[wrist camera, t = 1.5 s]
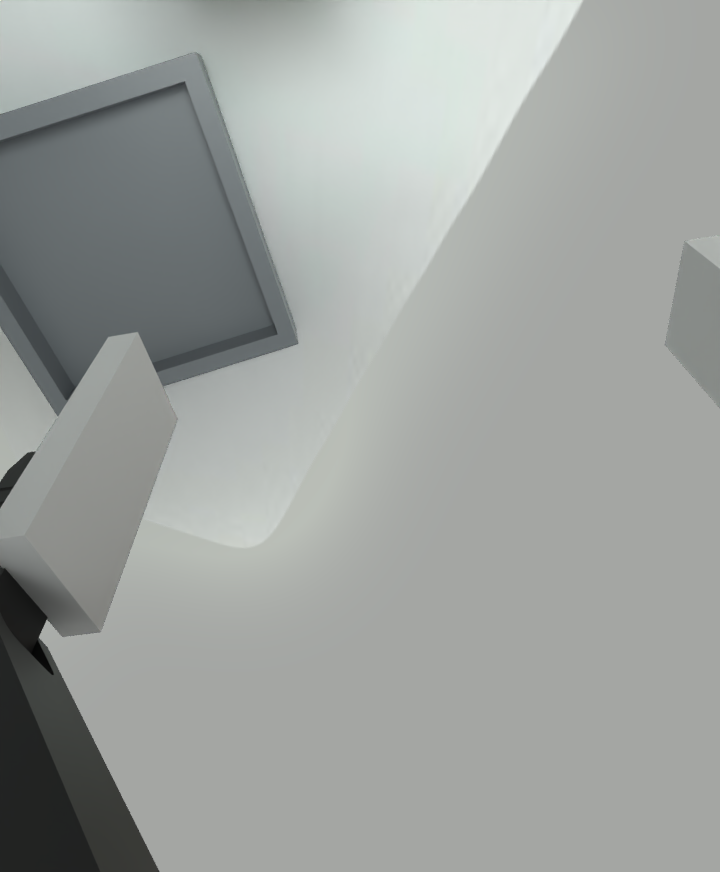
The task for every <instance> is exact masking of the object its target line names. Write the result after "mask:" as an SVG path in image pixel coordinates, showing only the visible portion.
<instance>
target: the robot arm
mask: <svg viewBox="0 0 720 872" xmlns="http://www.w3.org/2000/svg"><path fill="white" fill-rule="evenodd" d="M665 345H666V347H667V348H668V349H669V350H670V351H671V352H672V354H673V355H674V356H675V357H676V358H677V359H678V360H679V362H680V363H681V364H682V365H683V366H684V368H685V369H686V370H687V371H688V372H689V373H690V374H691V376H692V377H693V378H694V379H695V380H696V381H697V382H698V384H699V385H700V386H701V387H702V388H703V389H704V391H705V392H706V393H707V394H708V395H709V396H710V398H711V399H712V400H713V401H714V402H715V403H716V404H717V405H718V407H719V408H720V236H719V235H717V236H711V237H705V238H699V239H693V240H687V241H684V246H683V251H682V256H681V262H680V267H679V272H678V278H677V283H676V288H675V294H674V299H673V304H672V309H671V315H670V320H669V325H668V331H667V336H666V341H665ZM177 420H178V419H177V417H176V414H175V412H174V410H173V408H172V406H171V403H170V401H169V399H168V397H167V395H166V393H165V390H164V388H163V386H162V384H161V382H160V379H159V377H158V375H157V373H156V371H155V369H154V366H153V364H152V362H151V360H150V358H149V355H148V353H147V351H146V349H145V347H144V344H143V342H142V340H141V338H140V336H139V334H138V332H135V333H129V334H123V335H117V336H111V337H108V338H107V340H106V341H105V343H104V345H103V346H102V348H101V349H100V351H99V353H98V354H97V356H96V357H95V359H94V360H93V362H92V364H91V365H90V367H89V368H88V370H87V372H86V373H85V375H84V376H83V378H82V380H81V381H80V383H79V384H78V386H77V387H76V389H75V391H74V392H73V394H72V395H71V397H70V399H69V400H68V402H67V403H66V405H65V406H64V408H63V410H62V411H61V413H60V414H59V416H58V418H57V419H56V421H55V422H54V424H53V425H52V427H51V429H50V430H49V432H48V433H47V435H46V437H45V438H44V440H43V441H42V443H41V445H40V446H39V448H38V449H37V451H36V452H30V453H27V454H26V455H25V456H24V457H23V458H21V459H20V460H19V461H18V462H17V463H16V464H15V465H13V466H12V467H11V468H10V469H9V470H8V471H7V473H6V474H5V476H4V477H3V479H2V480H1V482H0V872H159V870H158V868H157V866H156V864H155V862H154V860H153V858H152V856H151V854H150V852H149V850H148V848H147V846H146V844H145V842H144V840H143V838H142V836H141V834H140V832H139V830H138V828H137V826H136V824H135V822H134V820H133V818H132V816H131V814H130V812H129V810H128V808H127V806H126V804H125V802H124V800H123V798H122V796H121V794H120V792H119V790H118V788H117V786H116V784H115V782H114V780H113V778H112V776H111V774H110V772H109V770H108V768H107V766H106V764H105V762H104V760H103V758H102V756H101V754H100V752H99V750H98V748H97V746H96V744H95V742H94V740H93V738H92V736H91V734H90V732H89V730H88V728H87V726H86V724H85V722H84V720H83V718H82V716H81V714H80V712H79V710H78V708H77V706H76V704H75V702H74V700H73V698H72V696H71V694H70V692H69V690H68V688H67V686H66V684H65V682H64V680H63V678H62V676H61V674H60V672H59V670H58V668H57V666H56V663H55V662H54V660H53V658H52V655H51V653H50V651H49V650H48V647H47V646H46V645H45V644H44V643H43V642H42V641H41V640H40V639H39V635H40V633H41V631H42V629H43V626H44V624H45V622H46V620H48V621H49V622H50V623H51V624H52V625H53V627H54V628H55V629H56V630H57V631H58V632H59V634H60V635H61V636H62V637H66V636H74V635H82V634H90V633H97V632H101V630H102V628H103V625H104V622H105V619H106V616H107V614H108V611H109V608H110V605H111V603H112V600H113V597H114V594H115V591H116V589H117V586H118V583H119V581H120V578H121V575H122V572H123V569H124V567H125V564H126V561H127V558H128V556H129V553H130V550H131V547H132V544H133V542H134V539H135V536H136V533H137V531H138V528H139V525H140V522H141V520H142V517H143V514H144V511H145V509H146V506H147V503H148V500H149V497H150V495H151V492H152V489H153V486H154V484H155V481H156V478H157V475H158V472H159V470H160V467H161V464H162V461H163V459H164V456H165V453H166V450H167V448H168V445H169V442H170V439H171V436H172V434H173V431H174V428H175V425H176V423H177Z"/></svg>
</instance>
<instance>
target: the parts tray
mask: <svg viewBox="0 0 720 872" xmlns="http://www.w3.org/2000/svg"><path fill="white" fill-rule="evenodd" d="M0 327H1V328H2V330H3V332H4V333H5V335H6V336H7V338H8V339H9V341H10V342H11V344H12V346H13V347H14V349H15V350H16V352H17V353H18V355H19V357H20V358H21V360H22V361H23V363H24V364H25V366H26V367H27V369H28V371H29V372H30V374H31V375H32V377H33V378H34V380H35V382H36V383H37V385H38V386H39V388H40V389H41V391H42V392H43V394H44V396H45V397H46V399H47V400H48V402H49V403H50V405H51V407H52V408H53V410H54V411H55V413H56V414H57V416H59V414H60V413H61V411H62V410H63V408H64V406H65V405H66V403H67V402H68V400H69V399H70V397H71V395H72V394H73V392H74V391H75V389H76V387H77V386H78V384H79V383H80V381H81V380H82V378H83V376H84V375H85V373H86V372H87V370H88V368H89V367H90V365H91V364H92V362H93V360H94V359H95V357H96V356H97V354H98V353H99V351H100V349H101V348H102V346H103V345H104V343H105V341H106V340H107V338H108V337H111V336H117V335H123V334H129V333H135V332H138V334H139V336H140V338H141V340H142V342H143V344H144V347H145V349H146V351H147V353H148V355H149V358H150V360H151V362H152V364H153V366H154V369H155V371H156V373H157V375H158V377H159V379H160V382H161V384H162V386H165V385H169V384H172V383H175V382H178V381H181V380H185V379H188V378H191V377H194V376H197V375H200V374H204V373H207V372H210V371H213V370H216V369H220V368H223V367H226V366H229V365H232V364H236V363H239V362H242V361H245V360H248V359H252V358H255V357H258V356H261V355H264V354H268V353H271V352H274V351H277V350H280V349H284V348H287V347H290V346H293V345H296V344H298V338H297V331H296V326H295V324H294V321H293V318H292V315H291V312H290V309H289V306H288V303H287V301H286V298H285V295H284V292H283V289H282V286H281V283H280V280H279V278H278V275H277V272H276V269H275V266H274V263H273V260H272V257H271V255H270V252H269V249H268V246H267V243H266V240H265V237H264V234H263V232H262V229H261V226H260V223H259V220H258V217H257V214H256V212H255V209H254V206H253V203H252V200H251V197H250V194H249V191H248V189H247V186H246V183H245V180H244V177H243V174H242V171H241V168H240V166H239V163H238V160H237V157H236V154H235V151H234V148H233V145H232V143H231V140H230V137H229V134H228V131H227V128H226V125H225V123H224V120H223V117H222V114H221V111H220V108H219V105H218V102H217V100H216V97H215V94H214V91H213V88H212V85H211V82H210V79H209V77H208V74H207V71H206V68H205V65H204V62H203V59H202V56H201V55H200V54H198V53H197V52H194V53H191V54H188V55H184V56H181V57H178V58H175V59H172V60H169V61H166V62H163V63H160V64H156V65H153V66H150V67H147V68H144V69H141V70H138V71H135V72H131V73H128V74H125V75H122V76H119V77H116V78H113V79H110V80H107V81H103V82H100V83H97V84H94V85H91V86H88V87H85V88H82V89H78V90H75V91H72V92H69V93H66V94H63V95H60V96H57V97H54V98H50V99H47V100H44V101H41V102H38V103H35V104H32V105H29V106H25V107H22V108H19V109H16V110H13V111H10V112H7V113H4V114H0Z"/></svg>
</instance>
